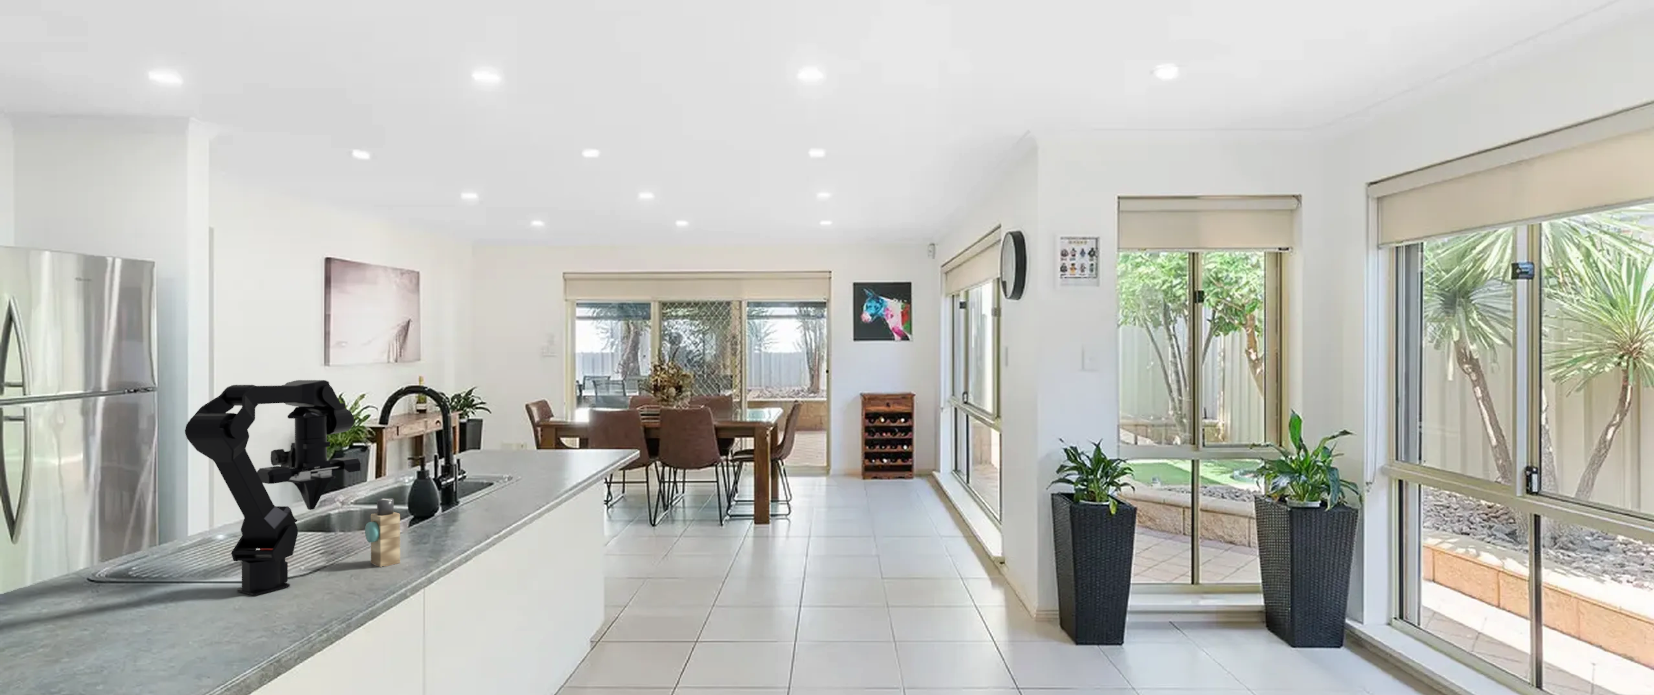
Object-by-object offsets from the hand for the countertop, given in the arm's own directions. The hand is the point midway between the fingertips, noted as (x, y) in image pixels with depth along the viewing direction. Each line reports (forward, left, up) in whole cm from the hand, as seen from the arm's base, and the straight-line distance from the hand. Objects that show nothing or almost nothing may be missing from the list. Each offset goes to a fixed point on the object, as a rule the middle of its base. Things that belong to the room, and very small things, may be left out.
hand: (311, 509), depth 161 cm
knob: (+10, -10, -8) cm, 16 cm away
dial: (+10, -10, -2) cm, 14 cm away
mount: (+10, -10, -13) cm, 19 cm away
